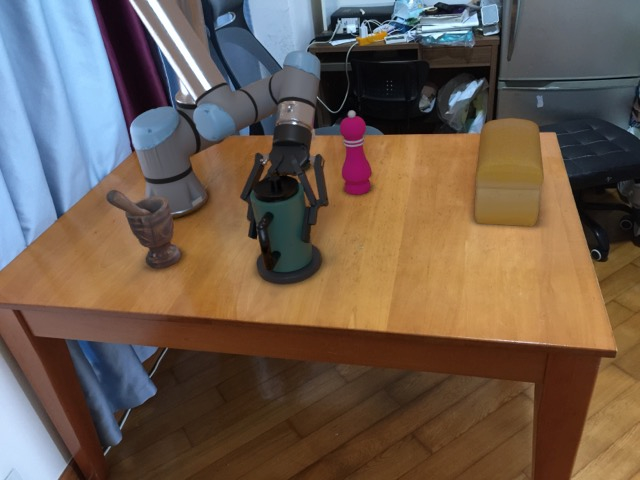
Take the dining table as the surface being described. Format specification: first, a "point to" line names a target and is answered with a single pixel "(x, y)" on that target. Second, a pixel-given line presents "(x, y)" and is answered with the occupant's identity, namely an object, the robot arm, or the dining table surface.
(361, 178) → the pepper mill
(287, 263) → the kettle
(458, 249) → the dining table surface
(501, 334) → the dining table surface
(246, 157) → the dining table surface
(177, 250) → the mortar and pestle
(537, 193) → the bread
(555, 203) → the dining table surface
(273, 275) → the kettle base
